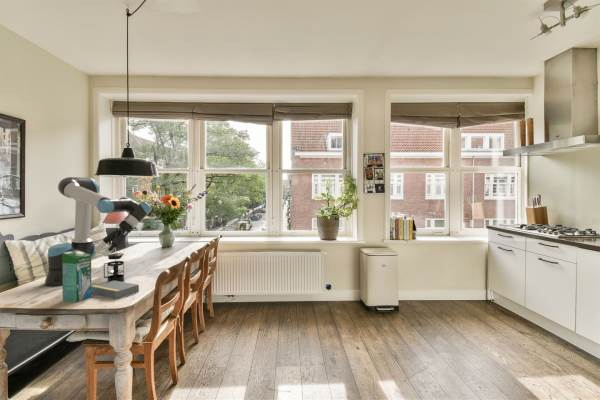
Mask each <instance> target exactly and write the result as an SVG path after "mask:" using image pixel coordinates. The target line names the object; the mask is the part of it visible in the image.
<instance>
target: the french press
mask: <svg viewBox="0 0 600 400" xmlns="http://www.w3.org/2000/svg"><path fill="white" fill-rule="evenodd" d="M114 249H115V250H114V251H115V252H114V253H109V254H108V255H107V256H106V257H108V260H112V261H109V262H106V263H103V278H104V279H107V282H110V281H114V280H115V281H120V282H125V262H124V261H123V260H120V259H121V258H122V257H123V256H124V255H125V254H124V253H121V252H120V253H117V247H115V248H114ZM106 266H107V269H109V267H112V270H108V271H107V274H108V275H107V276H106V270H105V269H106ZM119 266H122V267H123V268H122V269H119ZM121 273H123V274H121ZM109 274H110V275H109ZM107 282H106V283H107Z"/></svg>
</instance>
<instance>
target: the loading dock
mask: <svg viewBox="0 0 600 400" xmlns="http://www.w3.org/2000/svg"><path fill="white" fill-rule="evenodd" d="M91 291H92V295H94V296H99V297H103V298H108V299H114V300H119V299H122V298H124V297H128V296H130V294H131V295H133V293H134V294H136V292H137V293H139V291H140V285H139V284H137V283H132V282H126V281H123V282H120V281H115V280H114V281H110V282H103V283H99V284H96V285H91Z"/></svg>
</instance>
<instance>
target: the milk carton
mask: <svg viewBox="0 0 600 400" xmlns="http://www.w3.org/2000/svg"><path fill="white" fill-rule="evenodd" d="M62 283H63V285H62V301H64V302H70V303H71V302H72V303H73V302H74V303H79V302H81V301H83V300H87V299H88V298H89V299H90V298H91V297H92V295H93V294H92V291H91V287H92V259H91V255H90V254H87V253H84V252H82V251H79V250H74V251H69V252H65V253H62Z"/></svg>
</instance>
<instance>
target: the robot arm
mask: <svg viewBox="0 0 600 400" xmlns="http://www.w3.org/2000/svg"><path fill="white" fill-rule="evenodd" d="M57 189H58V191H59V193H60V194H61V195H63V196H64V197H66V198H69V199H73V200H74V201H75V212H74V213H75V215H74V216H75V217H74V238H73V239H72V240H70V242H71V243H70V242H63V243H57V244H53V245H51V246H50V247H49V248H48V249H47V250H48V252H47V265H48V267H47V269H48V271H47V274H46V276H45V278H44V279H45V280H44V285H45V286H47V287H59V286H63V283H62V253H65V252H69V251H74V250H79V251H82V252H84V253H87V254H90V255H91V260H92V259H93V258H94V257H95V256H96V254H99V253H100V252H101V251H102V250H103V249H104V248H105V249H104V250H103V251H102V252H101V255H103V256H104V257H106V258H107V257H108V256H107V255H109V254H111V252H112V251H113V250H114V249H115V247H116V248H118V247H119V246H120V245H121V244H122V242H123V240H125V238H126V236H128V234H131V232H132V231H134V228H136V227H137V226H139V223H140V222H142V220H143V219H145V218H146V217H147V216H148V215H149V214H150V212H151V211H152V210H153V209H152V206H151V205H150V204H149V203H147V202H146V201H140V202H137V201H135V200H134V199H132V198H130V197H128V196H124V195H123V196H122V197H120V198H118V199H117V198H115V199H113V198H109V197H107V196H105V195H103V194H99V192H100V185H99V183H98V182H97V180H96V179H94V178H91V177H80V176H79V177H74V176H69V177H65V178H63V179H61V180H60V181H59V182H58V185H57ZM92 207H95V208H97V211H99V213H101V214H112V213H114V214H115V213H125V212H126V213H128V214H127V215H126V216H125V217H124V218H123V219H122V221H120V223H118V227H119V228H117V227H116V228H114V230H113V231H112V232H110V233H109V234H108V235H106V236H105V237H103V238H102V241H101V242H100V244H99V243H98V245H96V242H93V241H94V240H93V239H92V238H91V228H92V227H91V226H92ZM112 241H113V242H112ZM110 242H111V243H110ZM109 243H110V244H109ZM107 245H108V246H107ZM106 246H107V248H106Z"/></svg>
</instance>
